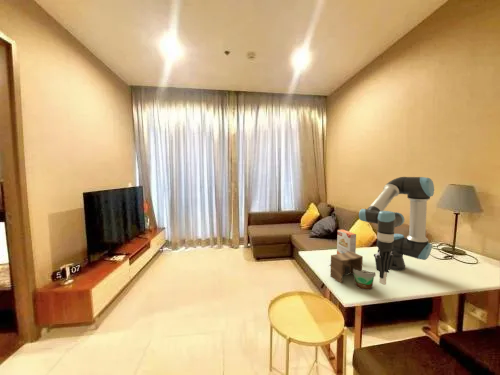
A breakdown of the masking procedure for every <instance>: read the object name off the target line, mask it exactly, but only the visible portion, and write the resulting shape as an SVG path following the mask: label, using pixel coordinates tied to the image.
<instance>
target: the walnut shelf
mask: <svg viewBox="0 0 500 375" xmlns="http://www.w3.org/2000/svg"><path fill="white" fill-rule="evenodd" d="M363 258H364V257H363V256H362V254H361V255H360V254H358V253H354V252H346V253H341V254H337V253H336V254H331V255H330V275H329V277H330V278H332V279H333V280H335V281H337V282H338V283H340V284H342V283H343V276H344V275H345V276H346V275H350V274H352V275H354V272H353V269H356V270H363V262H364V261H363Z"/></svg>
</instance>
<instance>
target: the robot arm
mask: <svg viewBox="0 0 500 375" xmlns="http://www.w3.org/2000/svg"><path fill="white" fill-rule="evenodd" d="M434 194H435V185H434V181H433V179H431V178H429V177H424V176H400V177H396V178H394V179H392V180H390V181H388V182H387V183H386V184H385V185H384V186H383V190H382V191H381V193H379V195H378V196H377V197H376V198H375V199H374V201H372V203H370V205H369V206H368V207H367V208H360V210H359V213H358V218H359V220H360V221H361V222H366V223H370V224H371V223H372V224H375V225H376V224H377V231H376V232H377V234H376V235H377V236H376V238H377V240H376V247H377V253H374V254H373V257H374V262H375V268H376V271H377V272H379V275H378V276H379V281H378V282H379V284H382V285H383V286H385V285H387V278H388V277H387V276H388V273H390V271H391V270H393V271H404V270H405V269H406V262H405V258H404V256H408V257H411V258H414V259H417V260H423V261H426V260H427V259H428V258H430V257H429V256H430V255H431V252H432V247H433V245H432V243H431V242H429V238H428V237H427V235H426V233H427V232H426V231H427V228H426V227H427V204H428V203H427V202H428V201H429V200H430V199H431V197H433V196H434ZM399 195H407V199H408V200H409V232H408V235H407V236H406V237H405V235H404V234H401V233H395V228H398V227H401V226H402V225H403V224H404V223H405V217H404V215H403V214H402V213H400V212H395V211H391V210H385V209H386V208H387V207H388V206H389V204H390V203H391V202H392V200H394V199H395V197H398V196H399Z"/></svg>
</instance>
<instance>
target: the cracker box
mask: <svg viewBox="0 0 500 375" xmlns="http://www.w3.org/2000/svg"><path fill="white" fill-rule="evenodd" d="M336 241H337V242H336V254H341V253H346V252H354V253H356V252H357V250H356V249H357V248H356V247H357V234H356V233H354V232H351V231H349V230H346V229H337V238H336ZM356 254H357V253H356Z"/></svg>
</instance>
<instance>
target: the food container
mask: <svg viewBox="0 0 500 375" xmlns="http://www.w3.org/2000/svg"><path fill="white" fill-rule="evenodd" d="M353 272H354V274H353V277H354V278H353V279H354V286H356V287H357V288H359V289H360V290H365V291H366V290H367V291H369V290H372V289H373V285H374V279H375V277H376V275H377V274H376V271H374V272H373V271H372V272H371V271H367V270H365V269H362V270H356V269H353Z"/></svg>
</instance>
